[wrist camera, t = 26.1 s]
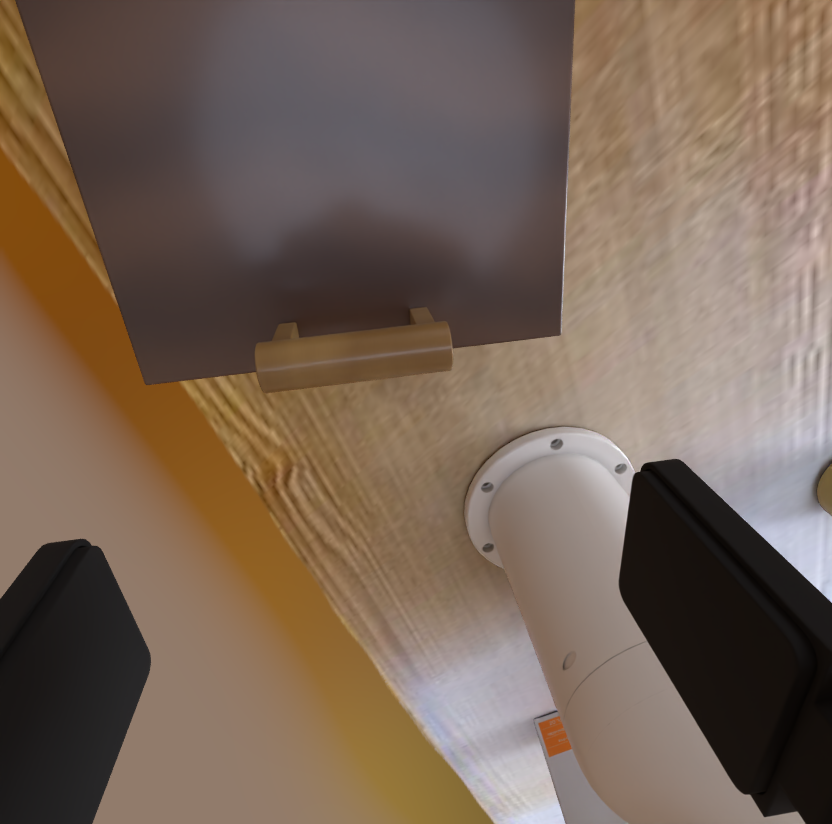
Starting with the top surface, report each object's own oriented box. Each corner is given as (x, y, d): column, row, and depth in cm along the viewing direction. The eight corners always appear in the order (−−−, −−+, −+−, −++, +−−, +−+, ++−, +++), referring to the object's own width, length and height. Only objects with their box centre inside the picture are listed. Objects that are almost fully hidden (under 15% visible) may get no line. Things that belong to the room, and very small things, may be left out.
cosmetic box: (588, 697, 51) (652, 843, 40) (598, 719, 53) (661, 864, 42) (530, 719, 51) (578, 869, 41) (542, 740, 53) (591, 889, 43)
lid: (555, 330, 22) (613, 377, 17) (151, 378, 21) (93, 443, 16) (573, -182, 15) (679, -342, 10) (-25, -154, 14) (-220, -321, 9)
